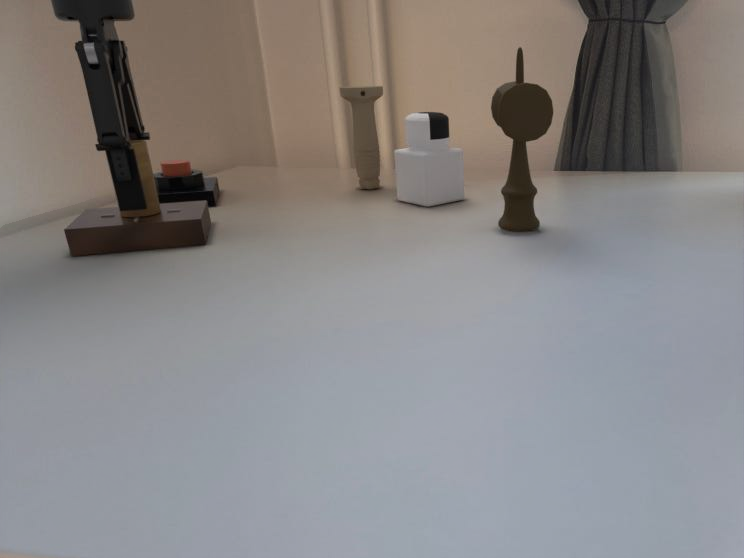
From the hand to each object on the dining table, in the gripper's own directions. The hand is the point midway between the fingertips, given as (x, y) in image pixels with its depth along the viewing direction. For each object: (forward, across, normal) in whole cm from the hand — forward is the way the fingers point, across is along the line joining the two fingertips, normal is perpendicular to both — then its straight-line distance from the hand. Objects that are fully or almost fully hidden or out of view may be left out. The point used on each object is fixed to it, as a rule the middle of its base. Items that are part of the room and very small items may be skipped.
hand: (138, 203), depth 79 cm
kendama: (+4, -12, -43) cm, 45 cm away
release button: (+1, +23, -2) cm, 23 cm away
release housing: (+4, +23, -2) cm, 23 cm away
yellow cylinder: (+1, 0, 0) cm, 1 cm away
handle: (+4, +22, -30) cm, 37 cm away
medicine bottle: (+4, +9, -37) cm, 38 cm away
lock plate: (+4, 0, 0) cm, 4 cm away
